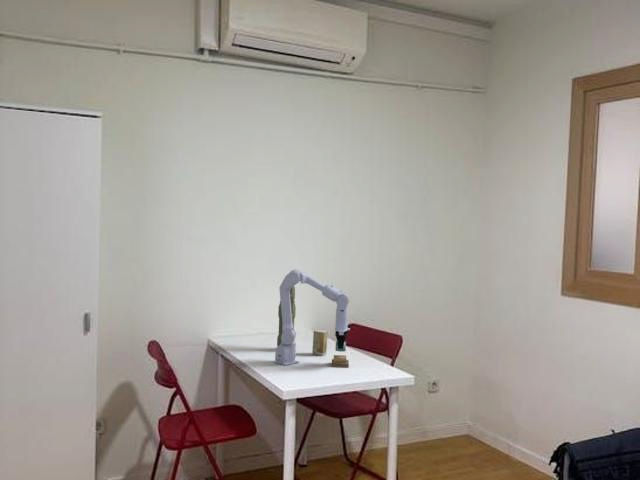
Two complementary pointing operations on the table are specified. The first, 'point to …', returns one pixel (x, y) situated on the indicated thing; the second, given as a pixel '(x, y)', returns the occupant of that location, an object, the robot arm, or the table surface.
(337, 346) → the teal cylinder
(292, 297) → the thermos
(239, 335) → the table surface
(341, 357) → the oak block
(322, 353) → the skincare box
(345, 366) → the walnut slab
